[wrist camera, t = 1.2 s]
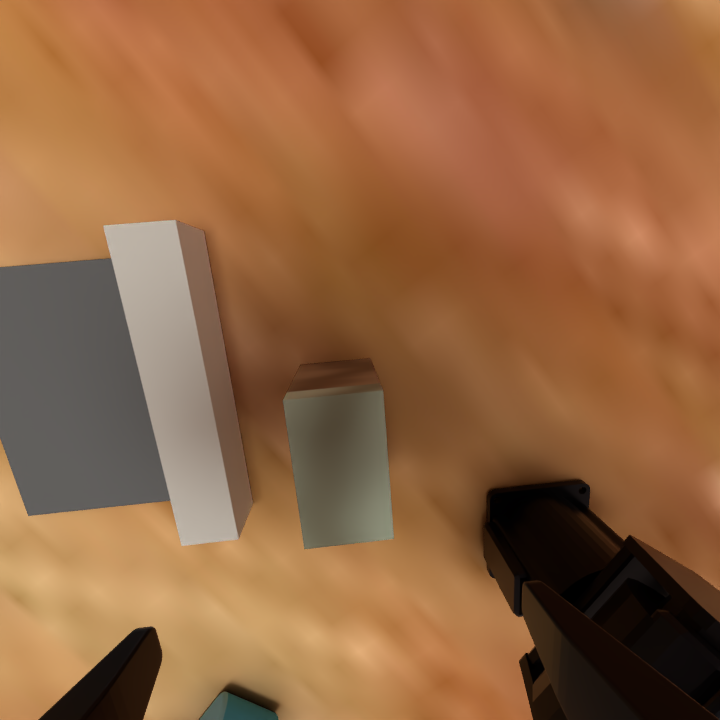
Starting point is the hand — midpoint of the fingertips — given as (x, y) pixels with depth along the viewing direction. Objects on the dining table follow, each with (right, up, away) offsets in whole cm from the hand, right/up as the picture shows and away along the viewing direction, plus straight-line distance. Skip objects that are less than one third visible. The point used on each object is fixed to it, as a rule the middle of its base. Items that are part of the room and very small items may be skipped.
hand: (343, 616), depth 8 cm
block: (-1, +3, +12) cm, 12 cm away
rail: (-8, +5, +11) cm, 15 cm away
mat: (-15, +4, +10) cm, 19 cm away
